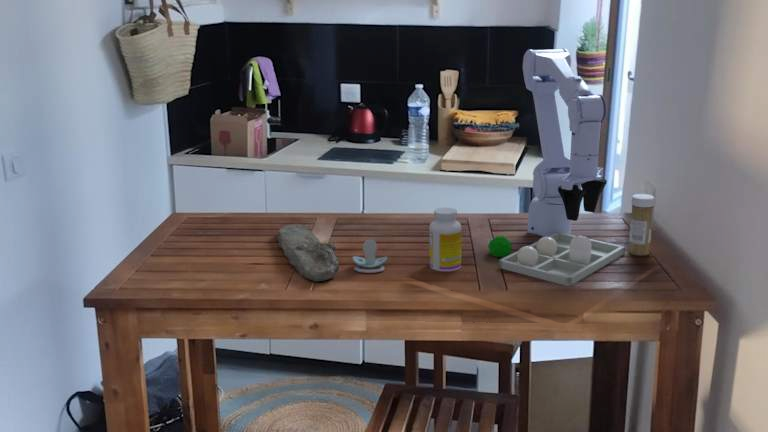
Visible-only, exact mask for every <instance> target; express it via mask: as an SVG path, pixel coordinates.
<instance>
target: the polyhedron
mask: <svg viewBox="0 0 768 432" xmlns="http://www.w3.org/2000/svg"><path fill="white" fill-rule="evenodd" d="M488 250H489V254H490V255H491V256H493V257H495V258H504V257H507V256H509V255H511V254H512V250H513V247H512V242H511V241H510V240H509V239H508V238H507V237H505V236H504V235H497V236H495V237H494V238H493V239H491V240H489V244H488Z"/></svg>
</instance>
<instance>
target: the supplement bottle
mask: <svg viewBox="0 0 768 432" xmlns="http://www.w3.org/2000/svg"><path fill="white" fill-rule="evenodd" d="M433 217H434V221H431V223H430V224H429V268H431V269H432V270H434V271H437V272H455V271H457V270H459V269H461V268H462V225H461V223H460V222H459V221H457V217H458V211H457V209H456V208H452V207H439V208H435V209H434V211H433Z"/></svg>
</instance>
